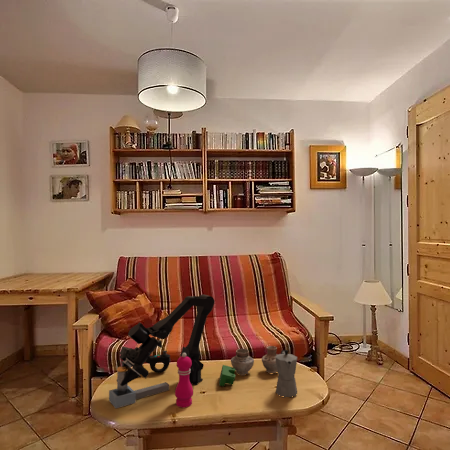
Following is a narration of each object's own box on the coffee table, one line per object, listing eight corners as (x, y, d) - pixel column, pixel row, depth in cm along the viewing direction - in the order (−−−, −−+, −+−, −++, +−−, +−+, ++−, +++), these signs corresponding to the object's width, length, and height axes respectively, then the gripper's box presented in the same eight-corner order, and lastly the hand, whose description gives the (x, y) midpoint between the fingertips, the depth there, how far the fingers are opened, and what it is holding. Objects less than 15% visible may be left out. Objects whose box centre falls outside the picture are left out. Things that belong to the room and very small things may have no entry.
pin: (128, 398, 143) (128, 365, 144) (126, 403, 139) (126, 369, 140) (118, 398, 143) (119, 366, 144) (115, 403, 139) (116, 369, 140)
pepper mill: (176, 399, 143) (176, 349, 144) (194, 399, 143) (194, 349, 144) (173, 408, 136) (173, 355, 137) (192, 408, 136) (192, 356, 136)
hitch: (163, 385, 156) (163, 376, 156) (171, 392, 150) (171, 382, 150) (109, 400, 142) (109, 390, 142) (115, 408, 136) (115, 397, 136)
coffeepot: (301, 400, 143) (301, 355, 143) (278, 400, 142) (278, 355, 143) (292, 384, 158) (292, 343, 159) (271, 384, 158) (271, 343, 158)
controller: (170, 373, 170) (170, 352, 171) (144, 375, 168) (144, 354, 168) (170, 369, 175) (170, 349, 175) (144, 371, 172) (144, 351, 172)
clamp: (230, 395, 156) (235, 380, 153) (217, 392, 156) (221, 377, 153) (232, 375, 167) (237, 360, 164) (220, 372, 167) (224, 357, 164)
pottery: (284, 376, 167) (284, 350, 167) (232, 378, 165) (232, 352, 165) (278, 367, 178) (278, 343, 178) (229, 369, 176) (229, 344, 176)
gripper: (124, 333, 152) (97, 365, 145) (141, 344, 137) (112, 380, 130) (141, 348, 156) (116, 379, 150) (159, 360, 141) (133, 396, 134)
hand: (119, 383), depth 141 cm, fingers closed on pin, 4 cm apart
